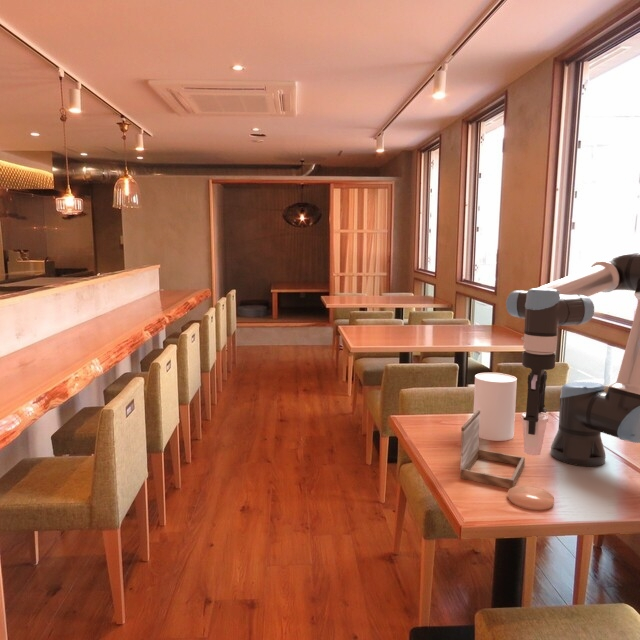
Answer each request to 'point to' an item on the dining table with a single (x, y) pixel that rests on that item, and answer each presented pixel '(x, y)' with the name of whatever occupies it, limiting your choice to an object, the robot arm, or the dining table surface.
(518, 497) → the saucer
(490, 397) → the canister
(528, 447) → the smoothie
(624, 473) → the dining table surface
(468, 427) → the box
